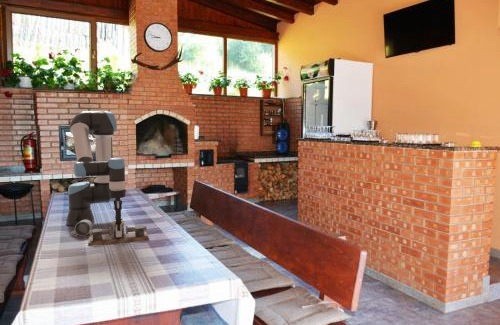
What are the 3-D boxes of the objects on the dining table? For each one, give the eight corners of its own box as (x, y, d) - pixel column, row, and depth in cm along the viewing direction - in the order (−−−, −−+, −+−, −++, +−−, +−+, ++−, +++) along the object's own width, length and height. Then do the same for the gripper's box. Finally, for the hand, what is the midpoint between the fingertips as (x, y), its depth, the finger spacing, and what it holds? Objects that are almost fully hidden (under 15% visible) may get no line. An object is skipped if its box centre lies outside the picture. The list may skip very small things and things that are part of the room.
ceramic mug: (93, 231, 209) (92, 217, 209) (90, 235, 201) (89, 221, 201) (72, 232, 207) (71, 218, 207) (68, 237, 199) (67, 222, 199)
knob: (110, 236, 194) (110, 222, 193) (118, 233, 199) (118, 220, 198) (119, 237, 192) (118, 224, 191) (127, 234, 197) (126, 221, 196)
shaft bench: (88, 245, 186) (87, 232, 185) (89, 239, 196) (88, 226, 195) (148, 240, 195) (148, 227, 194) (146, 234, 205) (146, 221, 205)
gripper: (126, 192, 186) (127, 239, 188) (124, 186, 203) (126, 229, 205) (109, 192, 183) (110, 241, 185) (109, 186, 200) (110, 231, 203)
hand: (118, 235), depth 195 cm, fingers closed on knob, 5 cm apart
